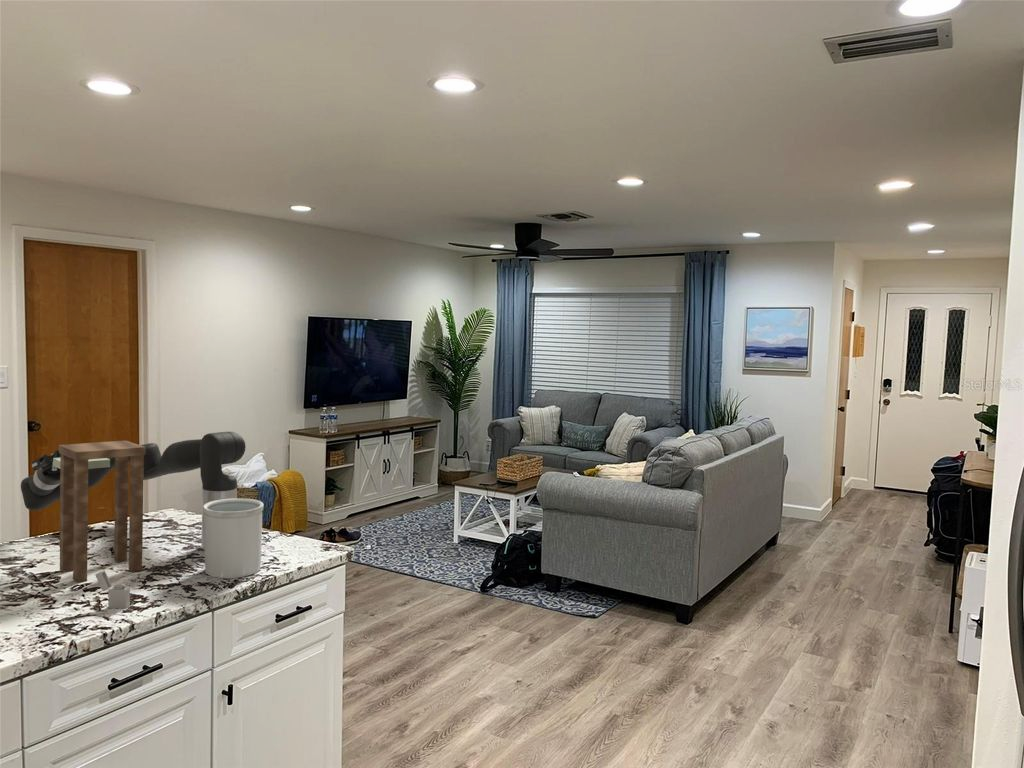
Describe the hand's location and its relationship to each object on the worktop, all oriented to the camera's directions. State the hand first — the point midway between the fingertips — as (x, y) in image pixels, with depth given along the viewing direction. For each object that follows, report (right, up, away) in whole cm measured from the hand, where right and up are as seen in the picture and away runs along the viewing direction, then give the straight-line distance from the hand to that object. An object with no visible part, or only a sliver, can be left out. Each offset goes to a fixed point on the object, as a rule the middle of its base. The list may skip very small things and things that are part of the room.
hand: (68, 451), depth 211 cm
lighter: (+33, -32, -40) cm, 60 cm away
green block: (+4, -3, -3) cm, 6 cm away
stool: (+17, -29, -16) cm, 37 cm away
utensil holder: (+49, -30, -11) cm, 59 cm away
